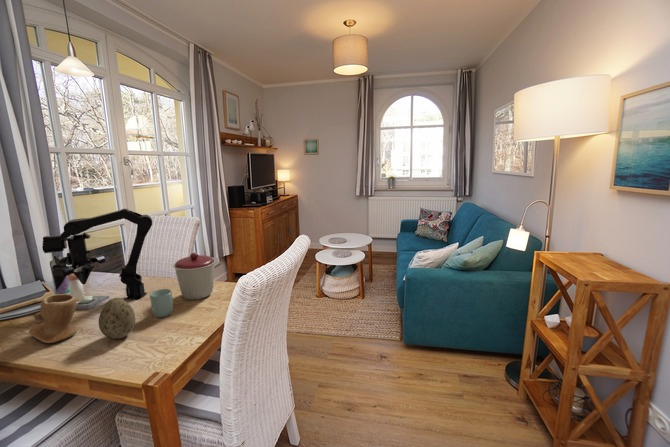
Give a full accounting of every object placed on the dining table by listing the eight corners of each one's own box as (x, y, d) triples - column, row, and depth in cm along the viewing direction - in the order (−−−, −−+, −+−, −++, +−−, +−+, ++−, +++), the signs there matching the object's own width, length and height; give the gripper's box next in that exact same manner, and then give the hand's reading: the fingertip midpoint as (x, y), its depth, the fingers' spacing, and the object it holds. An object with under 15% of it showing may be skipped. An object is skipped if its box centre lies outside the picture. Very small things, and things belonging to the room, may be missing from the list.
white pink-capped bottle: (87, 296, 140) (83, 272, 138) (79, 301, 136) (74, 276, 133) (77, 296, 140) (73, 272, 138) (69, 301, 136) (64, 276, 133)
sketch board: (109, 297, 142) (108, 293, 142) (89, 309, 130) (88, 305, 130) (75, 297, 142) (74, 293, 142) (51, 309, 130) (50, 305, 130)
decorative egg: (128, 325, 118) (123, 289, 115) (143, 334, 113) (138, 296, 110) (95, 339, 109) (89, 300, 106) (110, 349, 104) (104, 308, 101)
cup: (176, 314, 127) (174, 292, 125) (156, 321, 121) (153, 298, 119) (169, 308, 132) (167, 287, 130) (149, 315, 126) (147, 292, 124)
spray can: (62, 299, 140) (54, 257, 136) (53, 298, 141) (45, 256, 137) (74, 294, 145) (67, 254, 141) (65, 293, 146) (58, 253, 142)
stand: (68, 313, 127) (66, 306, 127) (52, 321, 121) (51, 314, 120) (51, 313, 127) (49, 306, 127) (35, 321, 121) (33, 314, 120)
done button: (94, 299, 135) (94, 296, 135) (87, 303, 131) (87, 300, 131) (85, 299, 135) (85, 296, 135) (78, 303, 131) (77, 300, 131)
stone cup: (87, 332, 114) (81, 295, 111) (46, 349, 103) (37, 308, 100) (68, 321, 121) (62, 286, 118) (28, 336, 110) (20, 298, 107)
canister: (172, 294, 146) (167, 252, 142) (210, 284, 158) (207, 245, 153) (182, 307, 133) (177, 262, 128) (223, 296, 144) (220, 253, 140)
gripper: (83, 242, 139) (88, 274, 142) (37, 255, 121) (45, 291, 124) (104, 244, 137) (109, 276, 140) (61, 256, 119) (67, 293, 122)
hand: (83, 284), depth 132 cm, fingers closed
